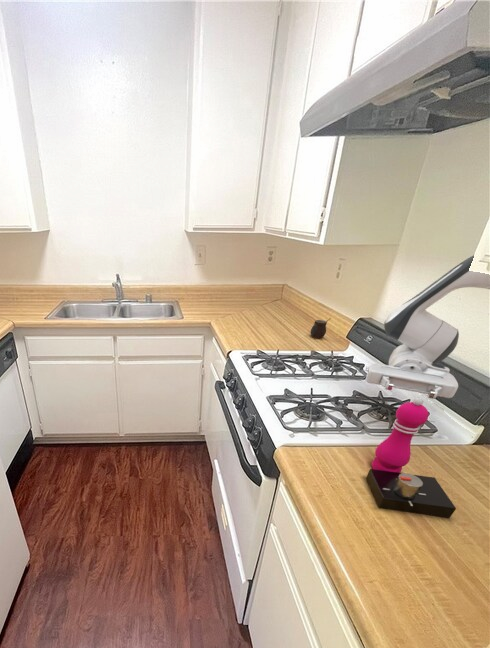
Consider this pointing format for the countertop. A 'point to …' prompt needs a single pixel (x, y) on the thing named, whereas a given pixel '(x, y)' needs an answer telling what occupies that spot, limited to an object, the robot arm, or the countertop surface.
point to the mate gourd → (319, 329)
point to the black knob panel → (425, 502)
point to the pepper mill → (400, 437)
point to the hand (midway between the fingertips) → (410, 391)
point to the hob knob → (407, 485)
